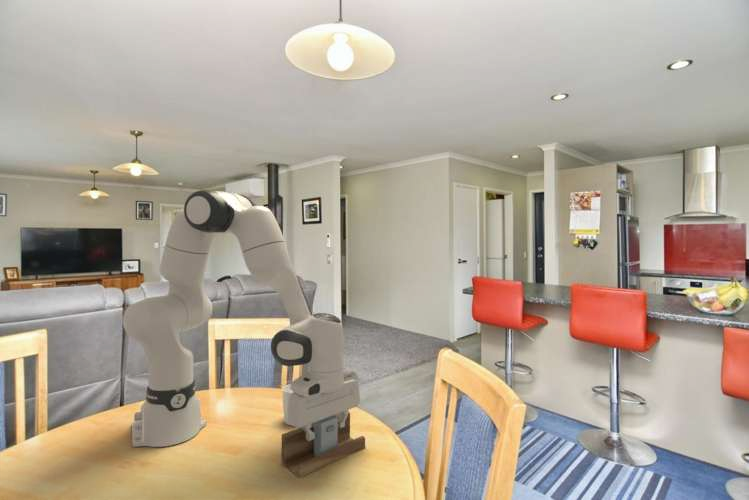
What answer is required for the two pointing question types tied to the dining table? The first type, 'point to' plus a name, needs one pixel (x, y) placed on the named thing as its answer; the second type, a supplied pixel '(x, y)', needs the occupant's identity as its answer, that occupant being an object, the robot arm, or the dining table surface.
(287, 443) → the cleat board
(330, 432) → the cabinet block
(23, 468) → the dining table surface
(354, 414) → the dining table surface
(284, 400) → the white cup
